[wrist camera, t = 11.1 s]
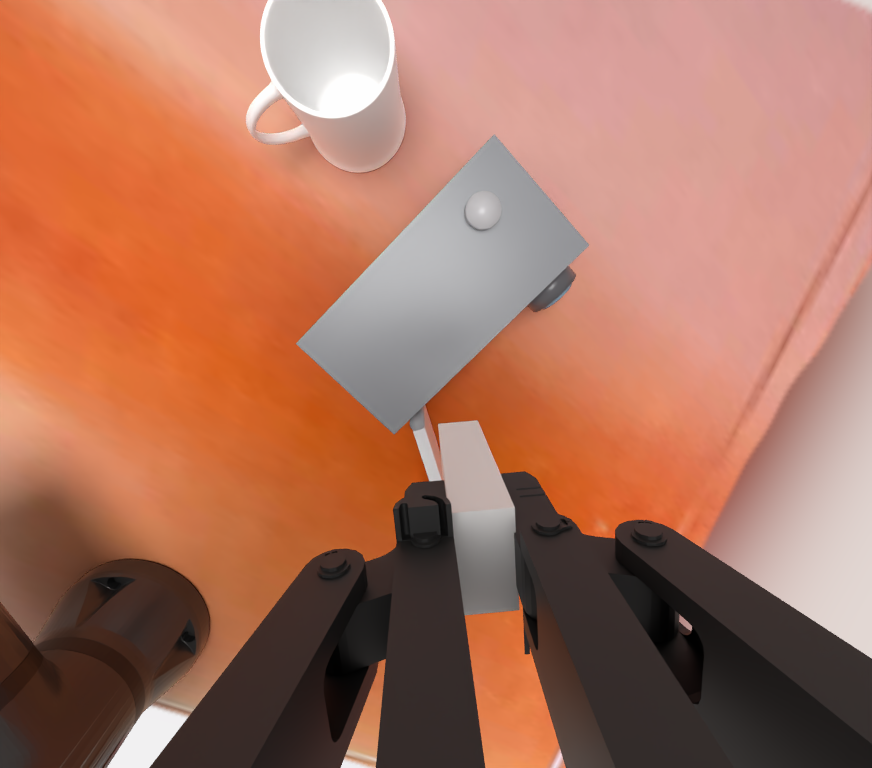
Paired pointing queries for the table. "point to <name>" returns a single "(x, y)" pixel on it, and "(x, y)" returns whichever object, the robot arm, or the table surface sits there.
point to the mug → (333, 79)
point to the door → (427, 444)
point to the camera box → (446, 287)
